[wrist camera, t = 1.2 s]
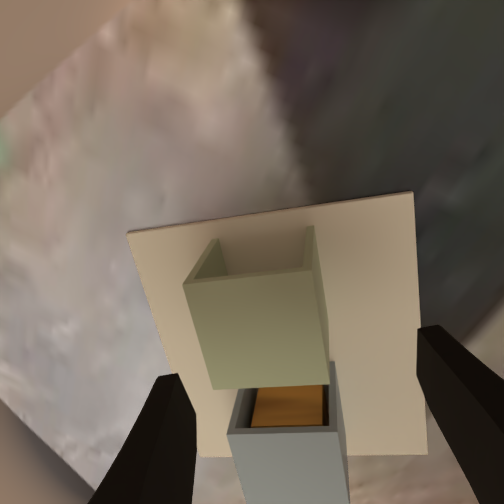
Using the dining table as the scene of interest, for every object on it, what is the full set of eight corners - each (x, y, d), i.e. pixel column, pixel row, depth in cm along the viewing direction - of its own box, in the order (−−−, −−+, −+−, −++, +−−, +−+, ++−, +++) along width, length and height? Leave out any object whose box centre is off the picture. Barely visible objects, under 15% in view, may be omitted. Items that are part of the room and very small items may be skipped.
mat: (426, 449, 28) (427, 454, 27) (201, 452, 31) (200, 457, 31) (411, 190, 21) (413, 192, 21) (128, 232, 25) (125, 234, 24)
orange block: (330, 422, 27) (331, 476, 24) (271, 424, 28) (264, 476, 25) (322, 374, 26) (322, 424, 22) (260, 378, 27) (250, 426, 23)
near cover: (328, 320, 24) (329, 384, 19) (234, 327, 26) (213, 389, 21) (314, 225, 22) (311, 270, 17) (212, 238, 23) (181, 284, 18)
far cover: (345, 433, 28) (350, 513, 23) (261, 435, 29) (248, 511, 24) (334, 361, 25) (337, 432, 20) (244, 366, 27) (226, 434, 22)
